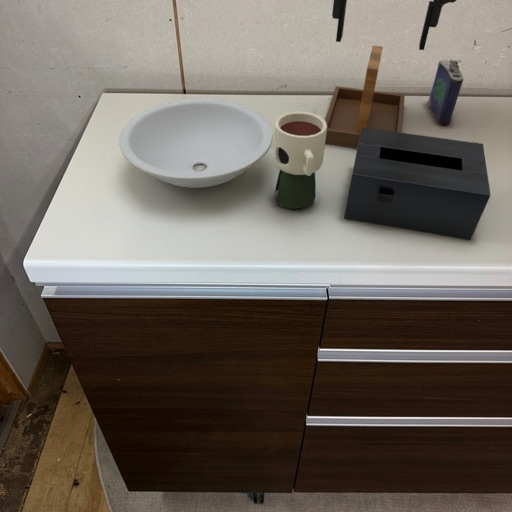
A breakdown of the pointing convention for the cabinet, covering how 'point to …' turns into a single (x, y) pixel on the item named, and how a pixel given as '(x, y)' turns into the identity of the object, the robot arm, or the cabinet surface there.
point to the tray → (347, 112)
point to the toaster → (418, 183)
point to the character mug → (298, 157)
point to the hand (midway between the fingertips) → (379, 43)
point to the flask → (445, 91)
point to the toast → (369, 87)
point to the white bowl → (196, 141)
